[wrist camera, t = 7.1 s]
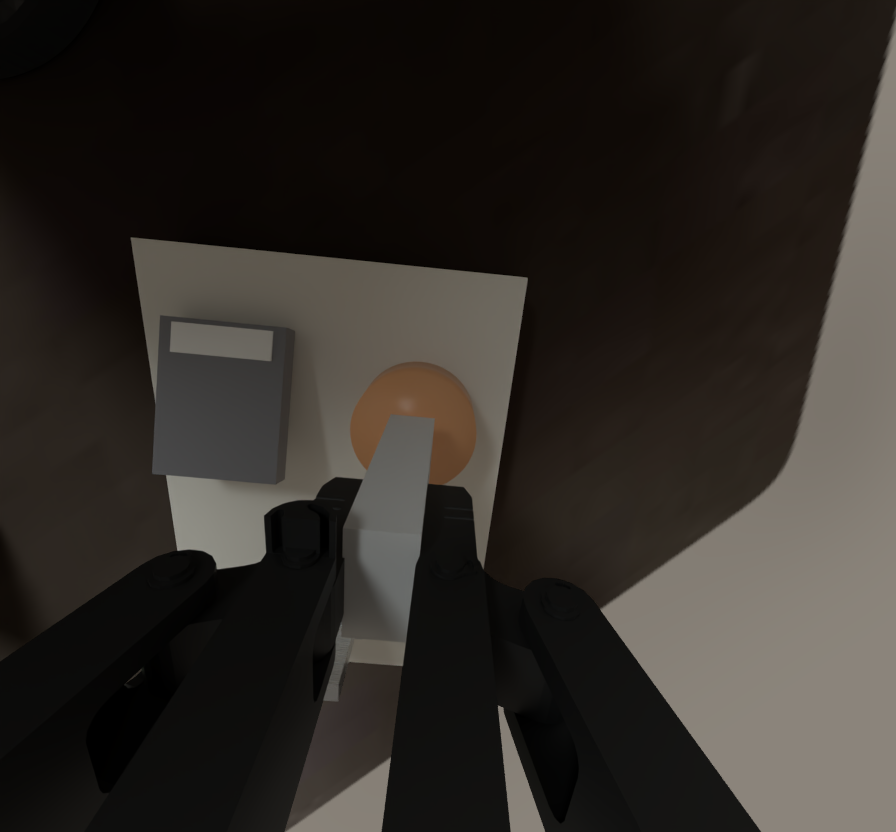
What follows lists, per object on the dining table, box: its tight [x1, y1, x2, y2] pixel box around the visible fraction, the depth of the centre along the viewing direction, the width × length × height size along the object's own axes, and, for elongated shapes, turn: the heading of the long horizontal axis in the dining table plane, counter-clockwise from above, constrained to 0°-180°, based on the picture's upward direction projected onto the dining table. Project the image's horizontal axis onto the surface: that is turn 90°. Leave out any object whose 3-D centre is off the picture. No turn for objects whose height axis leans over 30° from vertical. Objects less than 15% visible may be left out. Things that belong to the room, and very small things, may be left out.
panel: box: [131, 238, 528, 666], centre depth 22 cm, size 22×16×4 cm
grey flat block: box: [152, 315, 295, 485], centre depth 17 cm, size 6×5×1 cm
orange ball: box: [350, 362, 477, 485], centre depth 18 cm, size 5×5×5 cm
